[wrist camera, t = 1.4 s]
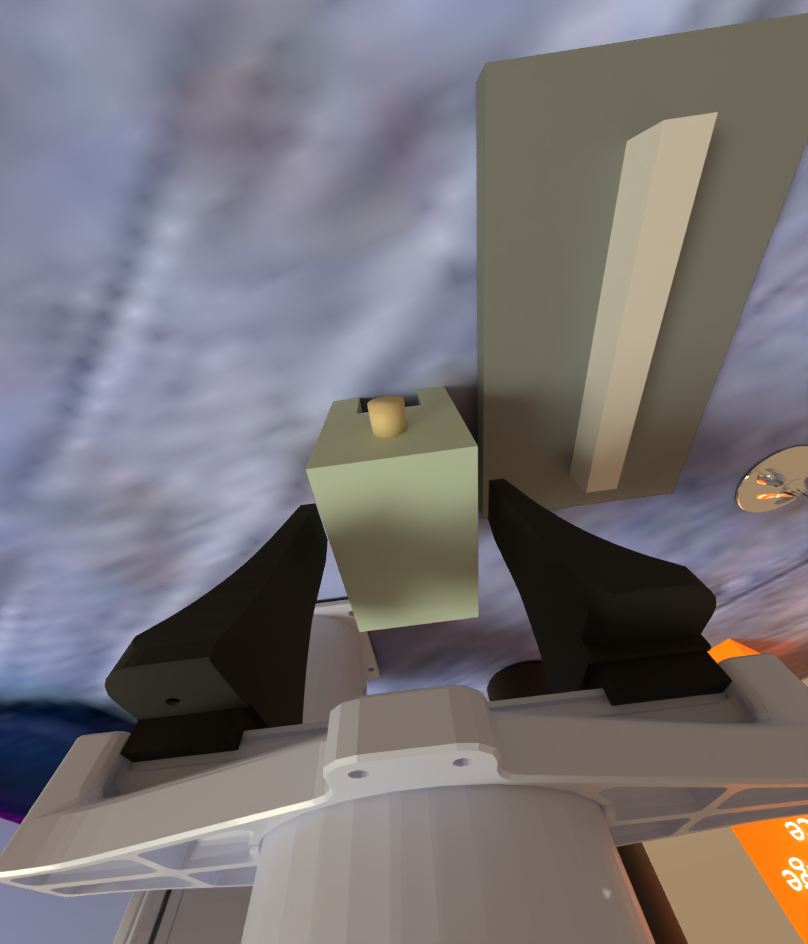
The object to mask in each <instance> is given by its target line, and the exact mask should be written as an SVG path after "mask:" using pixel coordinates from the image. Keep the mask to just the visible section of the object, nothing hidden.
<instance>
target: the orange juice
mask: <svg viewBox="0 0 808 944" xmlns="http://www.w3.org/2000/svg"><path fill="white" fill-rule="evenodd" d="M707 652H708V653H709V654H710V655H711V657H712V658H713V659H714V660H715V661H716V662H717V663H719V662H720V661H722V660H724V659H727V658H731V657H738V656H746V655H754V654H760V653H758V652H756V651H754V650H752V649H750V648H748V647H745V646H743V645H741V644H739V643H737V642H735V641H733V640H731V639H728V640H726V641H724V642H722V643H721V644H719V645H717V646H715V647H714V648H712V649H710V651H707ZM730 827H731V828H732V830H733V831H734V833H735V835H736V836H737V838H738V839H739V841H740V842H741V844H742V846H743V847H744V849H745V850H746V852H747V854H748V855H749V857H750V858H751V859H752V861H753V863H754V865H755V866H756V868H757V869H758V871H759V872H760V874H761V876H762V877H763V879H764V880H765V882H766V883H767V885H768V886H769V888H770V890H771V891H772V893H773V894H774V896H775V897H776V899H777V901H778V902H779V904H780V906H781V907H782V909H783V910H784V912H785V913H786V915H787V917H788V918H789V920H790V921H791V923H792V924H793V926H794V927H795V929H796V931H797V932H798V934H799V935H800V937H801V939H802V940H803V942H804V943H805V944H808V815H805V816H797V817H789V818H781V819H774V820H768V821H761V822H754V823H748V824H742V825H736V826H730Z"/></svg>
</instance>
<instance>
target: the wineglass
mask: <svg viewBox="0 0 808 944" xmlns="http://www.w3.org/2000/svg"><path fill="white" fill-rule="evenodd" d="M797 498H798V499H802V500H804V501H807V502H808V446H806V445H801V446H795V447H791V448H787V449H784V450H781V451H779V452H777V453H775V454H773V455H771V456H769V457H767V458H766V459H764V460H763V461H761V462H760V463H759V464H757V465H756V466H755V467H754V468H753V469H752V470H750V471H749V472H748V474H747V475H746V476H745V477H744V478H743V480H742V481H741V483H740V484H739V486H738V488H737V491H736V496H735V499H736V503H737V505H738V506H739V508H741V509H742V510H744V511H747V512H751V513H762V512H767V511H771V510H775V509H777V508H780V507H782V506H784V505H787V504H788V503H790V502H792V501H794V500H795V499H797Z"/></svg>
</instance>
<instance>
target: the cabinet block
mask: <svg viewBox="0 0 808 944" xmlns="http://www.w3.org/2000/svg"><path fill="white" fill-rule="evenodd" d="M417 393H418V402H419V405H416V406H409V407H405V404H404V398H403V397H401V396H396V395H388V396H382V397H378V398H375V399H372V400H370V401H369V402H368V403H367V406H368V411H369V412H366V413H362V408H361V403H360V398H356V399H349V400H341V401H334V402H333V403H332V406H331V408H330V410H329V413H328V415H327V418H326V420H325V423H324V425H323V428H322V430H321V433H320V435H319V438H318V440H317V443H316V445H315V448H314V450H313V453H312V455H311V457H310V460H309V462H308V465H307V467H306V472H307V475H308V478H309V481H310V484H311V487H312V490H313V493H314V496H315V499H316V502H317V505H318V508H319V511H320V514H321V517H322V520H323V523H324V526H325V529H326V532H327V535H328V538H329V541H330V544H331V547H332V550H333V553H334V556H335V559H336V563H337V566H338V569H339V572H340V575H341V578H342V581H343V584H344V587H345V590H346V593H347V596H348V599H349V602H350V605H351V608H352V611H353V614H354V617H355V620H356V623H357V626H358V629H359V632H364V631H372V630H380V629H388V628H396V627H404V626H411V625H419V624H427V623H435V622H443V621H451V620H458V619H466V618H474V617H478V446H477V444H476V442H475V440H474V439H473V437H472V435H471V433H470V431H469V430H468V428H467V426H466V424H465V423H464V421H463V419H462V417H461V416H460V414H459V412H458V410H457V408H456V407H455V405H454V403H453V401H452V400H451V398H450V396H449V394H448V393H447V391H446V389H445V387H444V386H442V387H435V388H428V389H420V390H417Z"/></svg>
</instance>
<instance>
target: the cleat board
mask: <svg viewBox="0 0 808 944" xmlns="http://www.w3.org/2000/svg"><path fill="white" fill-rule="evenodd" d="M476 92H477V333H478V507H479V510H480V512H481V515H482V517H483V518H488V498H489V480H495V479H503V478H504V479H505V480H507V481H508V482H509V483H511V484H512V485H513V486H515V487H516V488H517V489H519V490H520V491H521V492H523V493H524V494H525V495H527V496H528V497H529V498H531V499H532V500H534V501H535V502H536V503H538V504H539V505H541V506H542V507H544V508H545V509H547V510H549V509H556V508H564V507H571V506H579V505H586V504H594V503H601V502H609V501H616V500H624V499H632V498H639V497H647V496H654V495H662V494H669V493H673V491H674V488H675V486H676V483H677V480H678V478H679V475H680V473H681V470H682V467H683V465H684V462H685V459H686V457H687V454H688V452H689V449H690V446H691V444H692V441H693V438H694V436H695V433H696V431H697V428H698V425H699V423H700V420H701V418H702V415H703V412H704V410H705V407H706V404H707V402H708V399H709V397H710V394H711V391H712V389H713V386H714V383H715V381H716V378H717V376H718V373H719V370H720V368H721V365H722V363H723V360H724V357H725V355H726V352H727V349H728V347H729V344H730V342H731V339H732V336H733V334H734V331H735V328H736V326H737V323H738V321H739V318H740V315H741V313H742V310H743V307H744V305H745V302H746V300H747V297H748V294H749V292H750V289H751V287H752V284H753V281H754V279H755V276H756V273H757V271H758V268H759V266H760V263H761V260H762V258H763V255H764V252H765V250H766V247H767V245H768V242H769V239H770V237H771V234H772V232H773V229H774V226H775V224H776V221H777V218H778V216H779V213H780V211H781V208H782V205H783V203H784V200H785V197H786V195H787V192H788V190H789V187H790V184H791V182H792V179H793V176H794V174H795V171H796V169H797V166H798V163H799V161H800V158H801V156H802V153H803V150H804V148H805V145H806V142H807V140H808V13H806V14H800V15H793V16H787V17H780V18H774V19H767V20H761V21H754V22H748V23H742V24H735V25H729V26H722V27H716V28H709V29H703V30H696V31H690V32H684V33H677V34H671V35H664V36H658V37H651V38H645V39H638V40H632V41H626V42H619V43H613V44H606V45H600V46H593V47H587V48H580V49H574V50H568V51H561V52H555V53H548V54H542V55H535V56H529V57H522V58H516V59H510V60H503V61H497V62H490V63H485V66H484V68H483V70H482V72H481V74H480V76H479V78H478V80H477V82H476Z"/></svg>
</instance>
